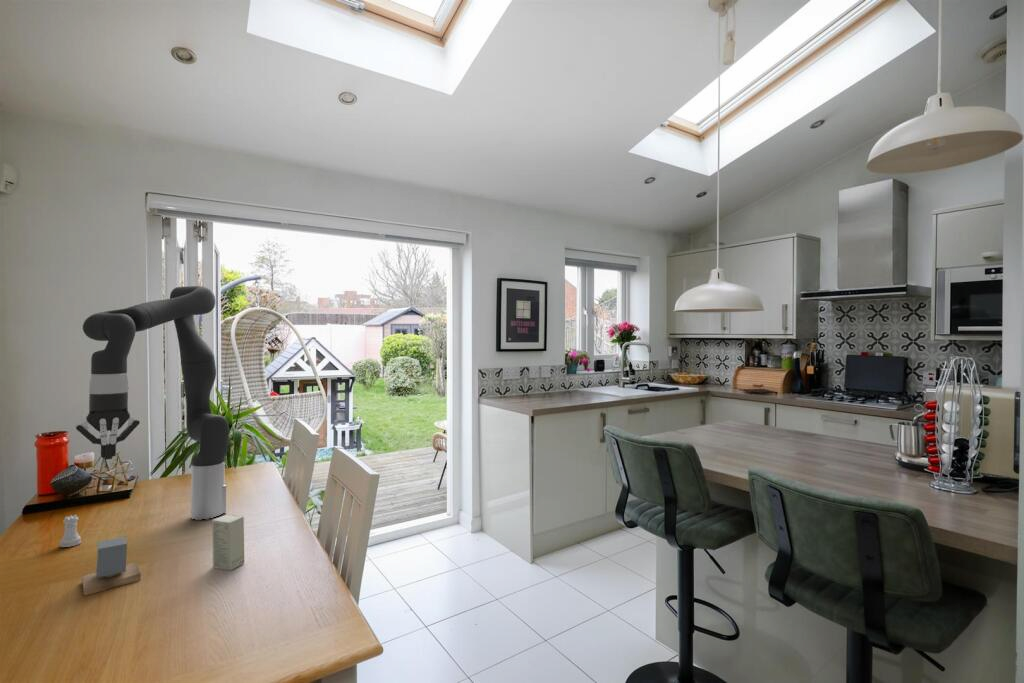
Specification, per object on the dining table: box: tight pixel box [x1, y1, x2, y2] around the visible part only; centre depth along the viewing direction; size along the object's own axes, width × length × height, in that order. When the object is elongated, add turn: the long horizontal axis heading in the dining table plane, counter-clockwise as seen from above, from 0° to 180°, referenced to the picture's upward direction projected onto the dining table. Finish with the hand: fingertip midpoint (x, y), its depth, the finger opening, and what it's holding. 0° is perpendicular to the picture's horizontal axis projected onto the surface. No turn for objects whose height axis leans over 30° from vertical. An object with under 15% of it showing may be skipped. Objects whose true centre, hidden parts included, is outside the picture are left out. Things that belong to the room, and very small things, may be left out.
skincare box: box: [211, 513, 245, 571], centre depth 120 cm, size 6×4×12 cm
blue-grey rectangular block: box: [95, 535, 128, 578], centre depth 112 cm, size 5×5×7 cm
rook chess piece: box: [59, 514, 82, 548], centre depth 132 cm, size 4×4×8 cm
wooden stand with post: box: [81, 562, 142, 596], centre depth 112 cm, size 10×8×9 cm
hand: (108, 458), depth 121 cm, fingers closed
